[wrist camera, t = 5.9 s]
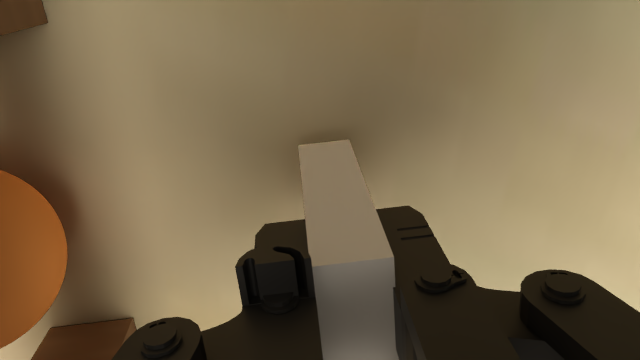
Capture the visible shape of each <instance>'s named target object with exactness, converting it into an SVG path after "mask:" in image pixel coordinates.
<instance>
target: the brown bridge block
mask: <svg viewBox="0 0 640 360" xmlns="http://www.w3.org/2000/svg"><path fill="white" fill-rule="evenodd" d="M44 23H48V22H47V19H46V15H45V12H44V8H43V5H42V1H41V0H0V36H1V35H5V34H8V33H12V32H16V31H19V30H23V29H26V28H30V27H34V26H37V25H41V24H44ZM135 331H136V327H135V324H134V320H133V318H130V319H122V320H113V321H105V322H97V323H88V324H80V325H72V326H64V327H55V328H50V330H49V331H48V333H47V334H46V336H45V338H44V339H43V341H42V343H41V344H40V346H39V347H38V349H37V351H36V352H35V354H34V355H33V357H32V359H31V360H111V359H112V358H113V357H114V355H115V354H116V353H117V351H118V350H119V349H120V347H121V346H122V344H123V343H124V342H125V341H126V340H127V339H128V338H129V337H130V336H131V335H132V334H133V333H134V332H135Z"/></svg>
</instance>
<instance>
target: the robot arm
mask: <svg viewBox="0 0 640 360" xmlns="http://www.w3.org/2000/svg"><path fill="white" fill-rule="evenodd" d="M298 150H299V160H300V171H301V181H302V191H303V201H304V212H305V219H303V220H294V221H286V222H277V223H269V224H265V225H264V226H263V227H262V228H261V229H260V231H259V232H258V233H257V234H256V236H255V249H253V250H250V251H248V252H247V253H246V254H244V255H243V256H242V257H241V258H240V259H239V260H238V262H237V264H236V266H235V268H236V273H237V279H238V284H239V289H240V295H241V300H242V312H241V313H240V314H239V315H237V316H236V317H234V318H233V319H231V320H230V321H228V322H226V323H224V324H221V325H219V326H216V327H213V328H210V329H208V330H205V331H202V332H201V331H200V328H199V326H198V325H197V324H196V323H195V322H193V321H192V320H190V319H186V318H180V317H173V318H163V319H160V320H157V321H154V322H151V323H148V324H146V325H145V326H143V327H141V328H139V329H138V330H136V331H135V332H134V333H133V334H132V335H131V336H130V337H129V338H128V339H127V340H126V341H125V342H124V343H123V344H122V346H121V347H120V349H119V350H118V351H117V353H116V354H115V355H114V357H113V358H112V359H111V360H640V312H638V311H637V310H635V309H634V308H632V307H631V306H629V305H628V304H626V303H625V302H624V301H622V300H621V299H619V298H618V297H616V296H615V295H613V294H612V293H610V292H609V291H607V290H606V289H604V288H603V287H602V286H600V285H599V284H597V283H596V282H594V281H592V280H590V279H588V278H586V277H584V276H582V275H580V274H576V273H573V272H569V271H565V270H543V271H536V272H534V273H532V274H530V275H528V276H526V277H525V279H524V280H523V281H522V283H521V291H520V292H513V291H501V290H492V289H486V288H482V287H479V286H477V285H476V284H475V282H474V280H473V279H472V277H471V276H470V275H469V274H468V273H467V272H466V271H465V270H463V269H461V268H459V267H457V266H455V265H451V264H450V263H449V261H448V259H447V257H446V255H445V254H444V252H443V250H442V248H441V247H440V245H439V243H438V241H437V239H436V238H435V237H434V234H433V232H432V230H431V229H430V227H429V225H428V223H427V221H426V220H425V218H424V216H423V214H421V213H420V212H418V211H417V210H415V209H413V208H412V207H410V206H401V207H393V208H384V209H375V206H374V203H373V201H372V198H371V195H370V193H369V190H368V188H367V185H366V182H365V180H364V177H363V175H362V172H361V169H360V167H359V164H358V161H357V159H356V156H355V154H354V151H353V148H352V146H351V143H350V141H349V139H348V140H339V141H330V142H321V143H312V144H303V145H298Z"/></svg>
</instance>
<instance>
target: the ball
mask: <svg viewBox="0 0 640 360" xmlns="http://www.w3.org/2000/svg"><path fill="white" fill-rule="evenodd" d="M66 266H67V242H66V237H65V233H64V229H63V226H62V224H61V222H60V220H59V218H58V216H57V214H56V212H55V210H54V209H53V207H52V206H51V205H50V204H49V202H48V201H47V200H46V199H45V198H44V197H43V196H42V195H41V194H40V193H39V192H38V191H37V190H36V189H34V188H33V187H32V186H31V185H29V184H28V183H26V182H25V181H23V180H21V179H20V178H18V177H16V176H14V175H12V174H9V173H7V172H5V171H2V170H0V349H1V348H3V347H4V346H6V345H8V344H10V343H12V342H13V341H15V340H16V339H18V338H19V337H21V336H22V335H23V334H25V333H26V332H27V331H29V330H30V329H31V328H32V327H33V326H34V325H35V324H36V323H37V322H38V321H39V320H40V319H41V318H42V317H43V316H44V314H45V313H46V312H47V311H48V309H49V308H50V306H51V305H52V303H53V302H54V300H55V298H56V297H57V295H58V293H59V290H60V288H61V285H62V283H63V280H64V276H65V272H66Z"/></svg>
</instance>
